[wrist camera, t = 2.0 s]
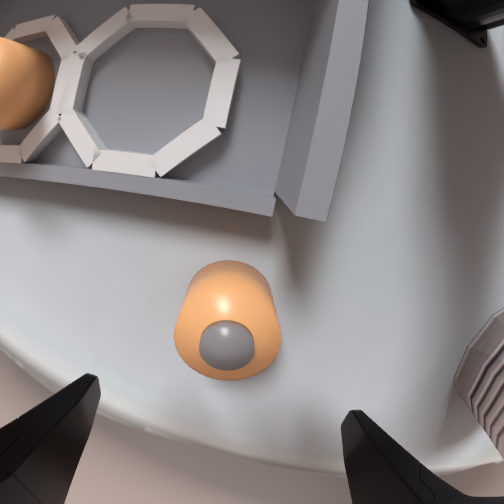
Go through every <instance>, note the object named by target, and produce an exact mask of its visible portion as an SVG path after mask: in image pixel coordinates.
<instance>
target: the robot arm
mask: <svg viewBox="0 0 504 504" xmlns="http://www.w3.org/2000/svg"><path fill="white" fill-rule="evenodd" d="M410 1H411V2H412V4H413V5H415V6H416V7H418V8H420V9H421V10H423V11H425V12H427V13H428V14H430V15H432V16H434V17H435V18H437V19H439V20H440V21H442V22H444V23H445V24H447V25H448V26H450V27H451V28H453V29H454V30H456V31H457V32H459V33H460V34H462V35H463V36H465V37H466V38H468V39H469V40H470V41H472V42H473V43H474V44H476V45H477V46H479V47H480V48H485V47H487V30H489V29H492V28H495V27H499V26H502V25H504V0H419V1H418V0H410ZM100 396H101V391H100V385H99V379H98V377H97V376H95V375H92V374H89V373H87V374H84V375H83V376H81V377H80V378H78V379H77V380H75V381H74V382H72V383H71V384H69V385H68V386H66V387H65V388H63V389H61V390H60V391H58V392H57V393H55V394H54V395H52V396H51V397H49V398H48V399H46V400H45V401H43V402H42V403H40V404H38V405H37V406H35V407H34V408H32V409H31V410H29V411H27V412H26V413H25V414H23V415H21V416H20V417H19V419H18V418H16V419H15V420H13V421H12V422H10V423H8V424H7V425H5V426H4V427H2V428H0V504H64V503H65V499H66V496H67V494H68V491H69V488H70V485H71V482H72V479H73V477H74V474H75V471H76V468H77V465H78V463H79V460H80V458H81V455H82V452H83V450H84V447H85V445H86V442H87V440H88V437H89V435H90V432H91V429H92V425H93V421H94V418H95V414H96V410H97V407H98V403H99V400H100ZM341 435H342V445H343V456H344V464H345V469H346V474H347V478H348V483H349V488H350V493H351V499H352V504H504V496H503V497H472V496H468V495H465V494H463V493H462V492H460V491H458V490H457V489H455V488H454V487H452V486H451V485H449V484H448V483H446V482H444V481H443V480H442V479H440V478H439V477H438V476H436V475H435V474H433V473H432V472H431V471H430V470H428V469H427V468H426V467H425V466H424V465H423V464H421V463H420V462H419V461H418V460H417V459H415V458H414V457H413V456H412V455H411V454H410V453H409V452H407V451H406V450H405V449H404V448H403V447H402V446H401V445H399V444H398V443H397V442H396V441H395V440H394V439H393V438H392V437H390V436H389V435H388V434H387V433H386V432H385V431H384V430H383V429H381V428H380V427H379V426H378V425H377V424H376V423H375V422H374V421H373V420H372V419H370V418H369V417H368V416H367V415H366V414H365V413H364V412H363V411H361V410H351V411H349V413H348V414H347V416H346V417H345V419H344V421H343V422H342V425H341Z"/></svg>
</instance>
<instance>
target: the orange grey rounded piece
mask: <svg viewBox="0 0 504 504" xmlns="http://www.w3.org/2000/svg"><path fill="white" fill-rule="evenodd" d="M174 342H175V346H176V349H177V351H178V353H179V355H180V357H181V358H182V359H183V361H184V362H185V363H186V364H187V365H188V366H189V367H191V368H192V369H193V370H195V371H196V372H198V373H200V374H202V375H205V376H207V377H210V378H214V379H219V380H239V379H244V378H248V377H251V376H253V375H256V374H258V373H259V372H261V371H263V370H264V369H265V368H267V367H268V366H269V365H270V364H271V363H272V361H273V360H274V359H275V357H276V355H277V353H278V351H279V348H280V343H281V335H280V329H279V325H278V320H277V316H276V311H275V306H274V302H273V297H272V293H271V289H270V286H269V284H268V282H267V280H266V279H265V277H264V276H263V275H262V274H261V273H260V272H259V271H258V270H256V269H255V268H254V267H252V266H250V265H248V264H245V263H242V262H238V261H219V262H215V263H212V264H209V265H207V266H206V267H204V268H202V269H201V270H200V271H199V272H198V273H197V274H196V275H195V276H194V277H193V279H192V280H191V282H190V284H189V287H188V290H187V293H186V296H185V299H184V302H183V305H182V308H181V311H180V314H179V317H178V320H177V323H176V326H175V330H174Z"/></svg>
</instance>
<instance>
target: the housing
mask: <svg viewBox="0 0 504 504" xmlns="http://www.w3.org/2000/svg"><path fill="white" fill-rule="evenodd" d="M367 9H368V0H0V37H3V38H6V39H9V40H11V41H14V42H17V43H20V44H23V45H26V46H28V47H31V48H34V49H36V50H39V51H42V52H44V53H46V54H47V55H49V56H50V58H51V59H52V61H53V64H54V69H55V81H54V87H53V90H52V94H51V96H50V99H49V101H48V103H47V105H46V107H45V109H44V110H43V112H42V113H41V115H40V116H39V117H38V118H37V119H36V120H35V121H34V122H33V123H32V124H31V125H29V126H28V127H26V128H24V129H20V130H0V176H3V177H13V178H23V179H33V180H42V181H50V182H59V183H67V184H75V185H83V186H90V187H98V188H105V189H112V190H119V191H126V192H133V193H139V194H146V195H152V196H159V197H165V198H171V199H177V200H183V201H189V202H195V203H201V204H206V205H212V206H218V207H223V208H229V209H234V210H240V211H245V212H250V213H255V214H261V215H266V216H271V217H272V216H273V211H274V207H275V202H276V198H275V197H274V192H275V193H276V194H277V195H278V196H279V197H280V199H281V200H282V201H283V202H284V203H285V204H286V206H287V207H288V208H289V209H290V210H291V212H292V213H293V214H294V215H295V216H300V217H305V218H309V219H314V220H319V221H323V222H326V219H327V215H328V211H329V208H330V204H331V200H332V196H333V192H334V187H335V183H336V179H337V175H338V171H339V166H340V162H341V158H342V153H343V149H344V144H345V139H346V135H347V130H348V125H349V120H350V115H351V110H352V105H353V99H354V94H355V89H356V83H357V77H358V71H359V65H360V59H361V53H362V46H363V39H364V32H365V25H366V17H367Z"/></svg>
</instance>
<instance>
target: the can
mask: <svg viewBox="0 0 504 504" xmlns="http://www.w3.org/2000/svg"><path fill="white" fill-rule="evenodd" d="M454 378H455V382H456V387H457V391H458V394H459V395H460V396H461V398H462V399H463V400H464V402H465V403H466V405H467V406H468V407H469V409H470V410H471V412H472V413H473V414H474V416H475V417H476V419H477V420H478V421H479V423H480V424H481V426H482V427H483V429H484V430H485V432H486V433H487V435H488V436H489V438H490V439H491V441H492V442H493V444H494V445H495V447H496V448H497V450H498V451H499V453H500V455H501V456H502V458H503V459H504V308H502V309H501V310H499V311H498V312H496V313H495V314H493V315H492V316H491V317H490V319H489V320H488V321H487V323H486V324H485V325H484V327H483V328H482V329H481V330H480V332H479V333H478V334H477V335H476V337H475V338H474V339H473V340H472V341H471V343H470V344H469V345H468V346H467V349H466V351H465V353H464V356H463V358H462V360H461V363H460V365H459V367H458V369H457V371H456V374H455V376H454Z"/></svg>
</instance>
